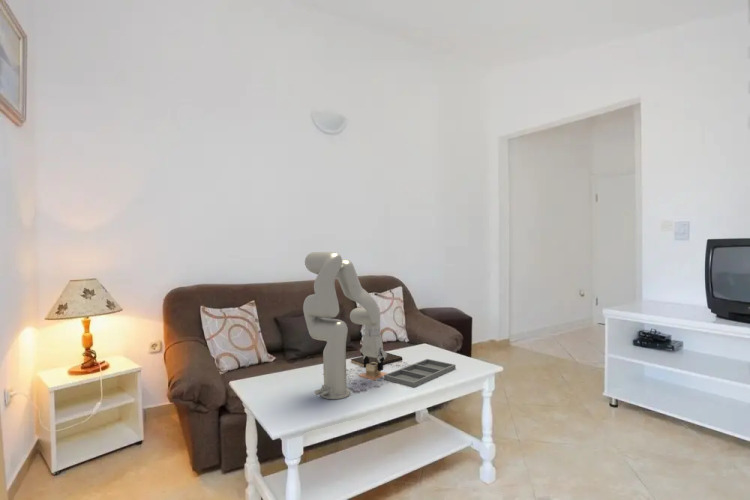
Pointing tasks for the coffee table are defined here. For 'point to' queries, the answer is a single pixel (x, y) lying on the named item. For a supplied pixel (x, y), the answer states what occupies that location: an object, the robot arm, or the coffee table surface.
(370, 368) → the birch cube
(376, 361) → the hardcover book
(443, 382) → the coffee table surface
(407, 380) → the grey organiser
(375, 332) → the robot arm
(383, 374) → the terracotta tile
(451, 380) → the coffee table surface
